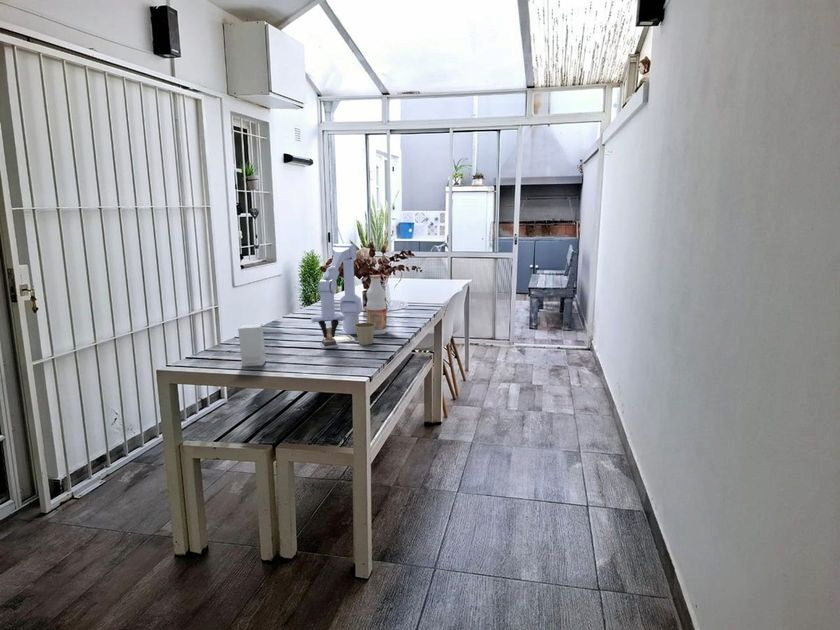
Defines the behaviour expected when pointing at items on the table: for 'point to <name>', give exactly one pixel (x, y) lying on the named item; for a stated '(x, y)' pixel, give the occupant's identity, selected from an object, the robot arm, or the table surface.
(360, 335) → the flower pot
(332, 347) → the ink pad
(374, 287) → the fruit juice
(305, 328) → the table surface
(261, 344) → the skincare box
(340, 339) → the print card
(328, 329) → the stamp
